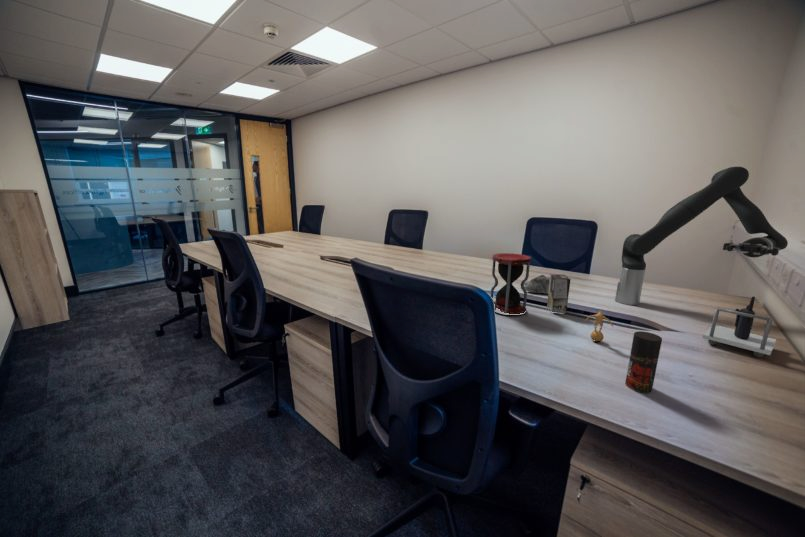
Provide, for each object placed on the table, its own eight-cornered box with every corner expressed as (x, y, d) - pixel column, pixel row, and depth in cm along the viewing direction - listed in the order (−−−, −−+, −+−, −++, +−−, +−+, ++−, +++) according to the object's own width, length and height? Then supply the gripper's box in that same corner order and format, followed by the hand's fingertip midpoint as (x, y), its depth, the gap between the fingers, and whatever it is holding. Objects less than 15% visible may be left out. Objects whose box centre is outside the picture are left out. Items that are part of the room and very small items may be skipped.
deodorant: (620, 381, 91) (628, 331, 87) (639, 380, 91) (649, 331, 88) (636, 393, 85) (646, 341, 82) (657, 392, 85) (668, 340, 82)
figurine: (610, 342, 115) (615, 310, 112) (608, 348, 110) (614, 315, 107) (583, 336, 119) (588, 305, 117) (581, 342, 115) (586, 310, 112)
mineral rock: (522, 292, 174) (523, 274, 172) (529, 288, 182) (531, 270, 179) (547, 297, 166) (549, 278, 163) (553, 292, 173) (555, 274, 171)
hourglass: (486, 313, 142) (490, 258, 137) (491, 302, 157) (494, 252, 151) (525, 318, 136) (530, 261, 131) (526, 306, 151) (531, 254, 145)
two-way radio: (749, 341, 108) (760, 298, 105) (731, 337, 111) (741, 295, 107) (746, 335, 112) (756, 294, 109) (728, 332, 115) (738, 292, 111)
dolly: (701, 344, 114) (709, 306, 111) (710, 333, 123) (718, 298, 119) (768, 362, 101) (780, 320, 98) (773, 349, 110) (784, 310, 107)
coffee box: (566, 315, 141) (571, 279, 137) (551, 313, 142) (555, 278, 139) (561, 308, 150) (565, 274, 146) (546, 307, 151) (550, 273, 147)
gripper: (734, 235, 132) (721, 237, 123) (787, 239, 120) (776, 242, 112) (729, 253, 133) (716, 256, 125) (781, 259, 122) (770, 263, 113)
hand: (745, 250), depth 118 cm, fingers open, 8 cm apart
